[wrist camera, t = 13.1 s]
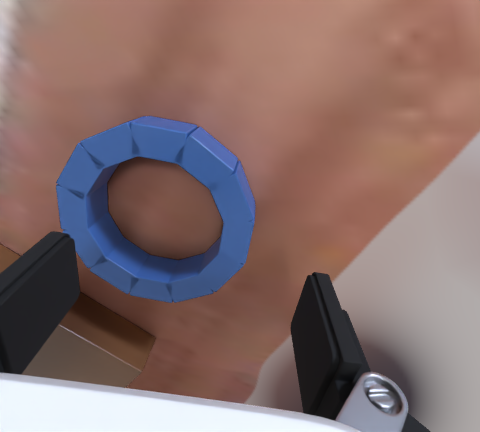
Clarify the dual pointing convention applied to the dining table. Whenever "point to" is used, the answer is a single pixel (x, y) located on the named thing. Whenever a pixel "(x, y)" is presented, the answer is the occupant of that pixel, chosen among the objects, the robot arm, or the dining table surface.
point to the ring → (126, 253)
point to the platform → (89, 344)
